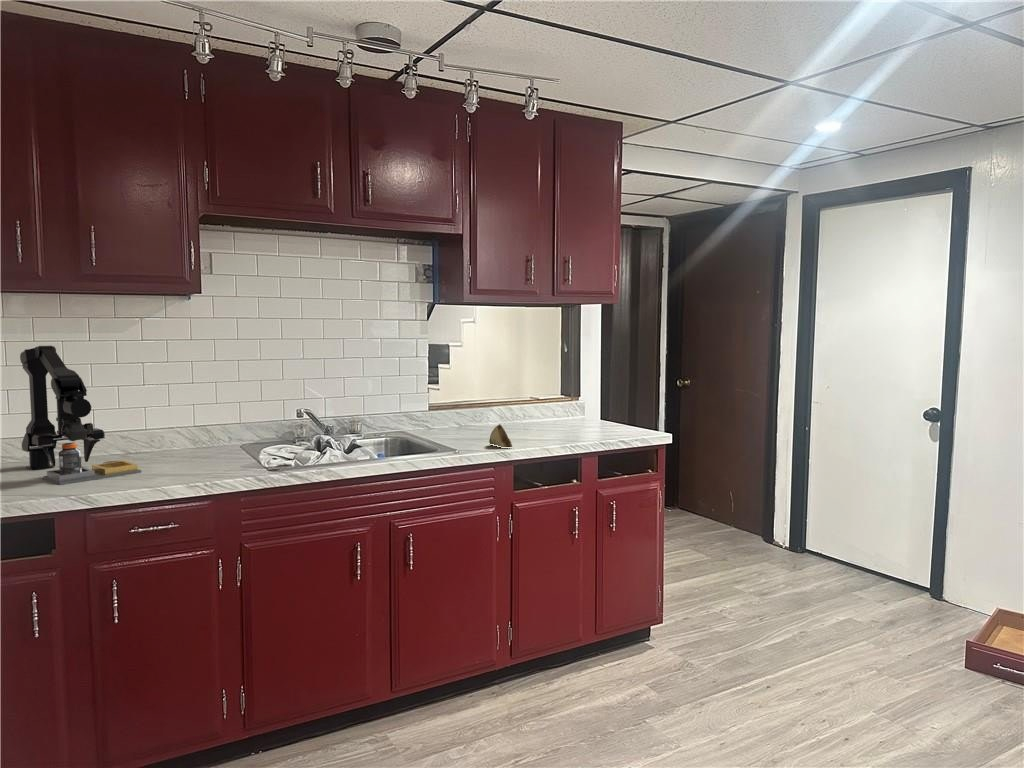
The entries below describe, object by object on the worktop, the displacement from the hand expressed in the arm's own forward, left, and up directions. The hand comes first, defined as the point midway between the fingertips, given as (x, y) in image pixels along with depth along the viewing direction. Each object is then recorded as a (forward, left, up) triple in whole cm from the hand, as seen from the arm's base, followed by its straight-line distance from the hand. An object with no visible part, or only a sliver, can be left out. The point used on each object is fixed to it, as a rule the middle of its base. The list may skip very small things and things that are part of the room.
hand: (70, 464), depth 225 cm
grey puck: (-10, +17, -5) cm, 20 cm away
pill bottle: (0, 0, -5) cm, 5 cm away
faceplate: (0, +6, -5) cm, 8 cm away
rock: (+64, +133, -5) cm, 148 cm away
